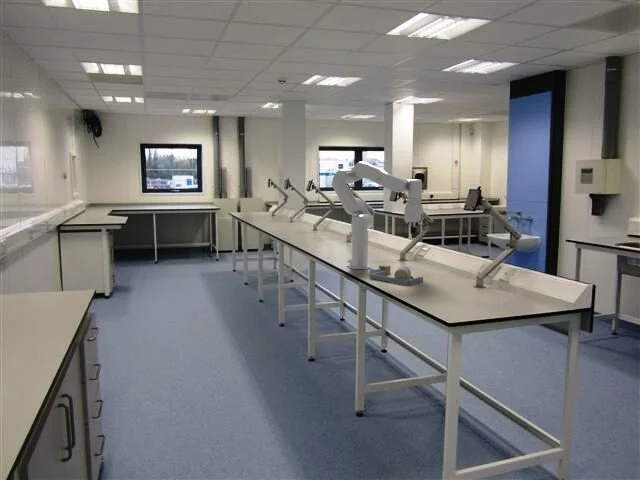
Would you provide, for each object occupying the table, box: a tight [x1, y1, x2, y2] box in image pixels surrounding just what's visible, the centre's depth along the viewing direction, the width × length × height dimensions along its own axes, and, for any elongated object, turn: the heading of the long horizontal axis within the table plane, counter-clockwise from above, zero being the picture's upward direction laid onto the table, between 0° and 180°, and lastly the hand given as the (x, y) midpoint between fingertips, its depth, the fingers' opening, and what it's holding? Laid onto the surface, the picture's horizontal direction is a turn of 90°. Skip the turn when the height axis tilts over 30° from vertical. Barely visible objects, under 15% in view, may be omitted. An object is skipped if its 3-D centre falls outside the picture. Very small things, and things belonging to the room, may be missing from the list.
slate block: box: [369, 267, 380, 275], centre depth 282 cm, size 4×4×4 cm
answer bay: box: [369, 271, 424, 286], centre depth 270 cm, size 24×14×2 cm, turn 47°
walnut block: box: [378, 264, 391, 275], centre depth 288 cm, size 4×4×4 cm
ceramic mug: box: [393, 265, 415, 280], centre depth 266 cm, size 11×8×8 cm
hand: (413, 233), depth 290 cm, fingers closed
